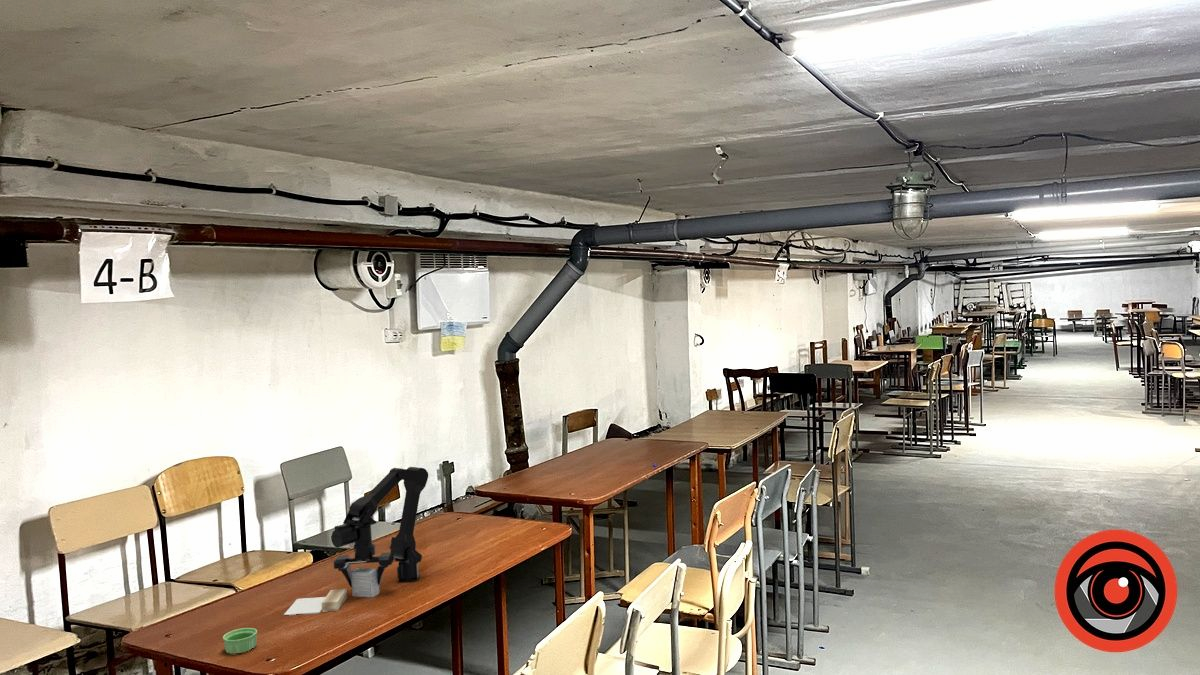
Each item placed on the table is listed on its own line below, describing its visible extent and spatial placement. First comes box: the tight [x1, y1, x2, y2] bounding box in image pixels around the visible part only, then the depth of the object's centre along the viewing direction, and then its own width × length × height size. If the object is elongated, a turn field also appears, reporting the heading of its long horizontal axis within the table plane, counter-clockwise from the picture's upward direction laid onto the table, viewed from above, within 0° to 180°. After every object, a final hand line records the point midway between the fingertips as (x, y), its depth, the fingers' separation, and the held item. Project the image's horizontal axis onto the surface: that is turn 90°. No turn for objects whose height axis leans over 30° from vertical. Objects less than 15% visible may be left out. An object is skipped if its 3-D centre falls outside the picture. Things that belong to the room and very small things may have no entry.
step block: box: [321, 588, 348, 613], centre depth 261 cm, size 5×12×3 cm, turn 4°
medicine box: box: [351, 566, 380, 599], centre depth 269 cm, size 8×4×9 cm, turn 71°
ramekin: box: [222, 627, 258, 655], centre depth 229 cm, size 9×9×4 cm
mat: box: [283, 596, 326, 616], centre depth 261 cm, size 11×14×1 cm
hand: (365, 585), depth 269 cm, fingers closed on medicine box, 9 cm apart
